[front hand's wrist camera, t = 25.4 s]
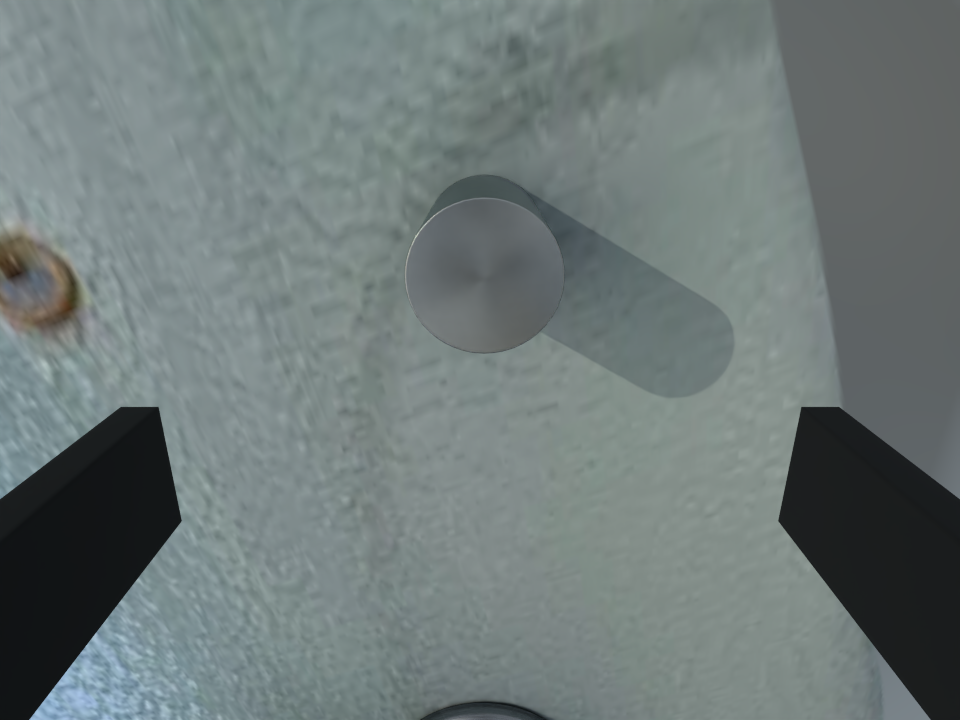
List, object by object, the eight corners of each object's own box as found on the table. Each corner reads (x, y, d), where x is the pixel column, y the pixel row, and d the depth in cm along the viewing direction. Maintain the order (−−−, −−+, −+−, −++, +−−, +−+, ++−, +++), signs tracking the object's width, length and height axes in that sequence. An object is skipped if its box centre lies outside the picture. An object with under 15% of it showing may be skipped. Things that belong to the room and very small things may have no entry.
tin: (528, 160, 33) (545, 177, 24) (554, 276, 36) (579, 333, 26) (411, 192, 34) (383, 221, 25) (444, 304, 36) (430, 369, 27)
